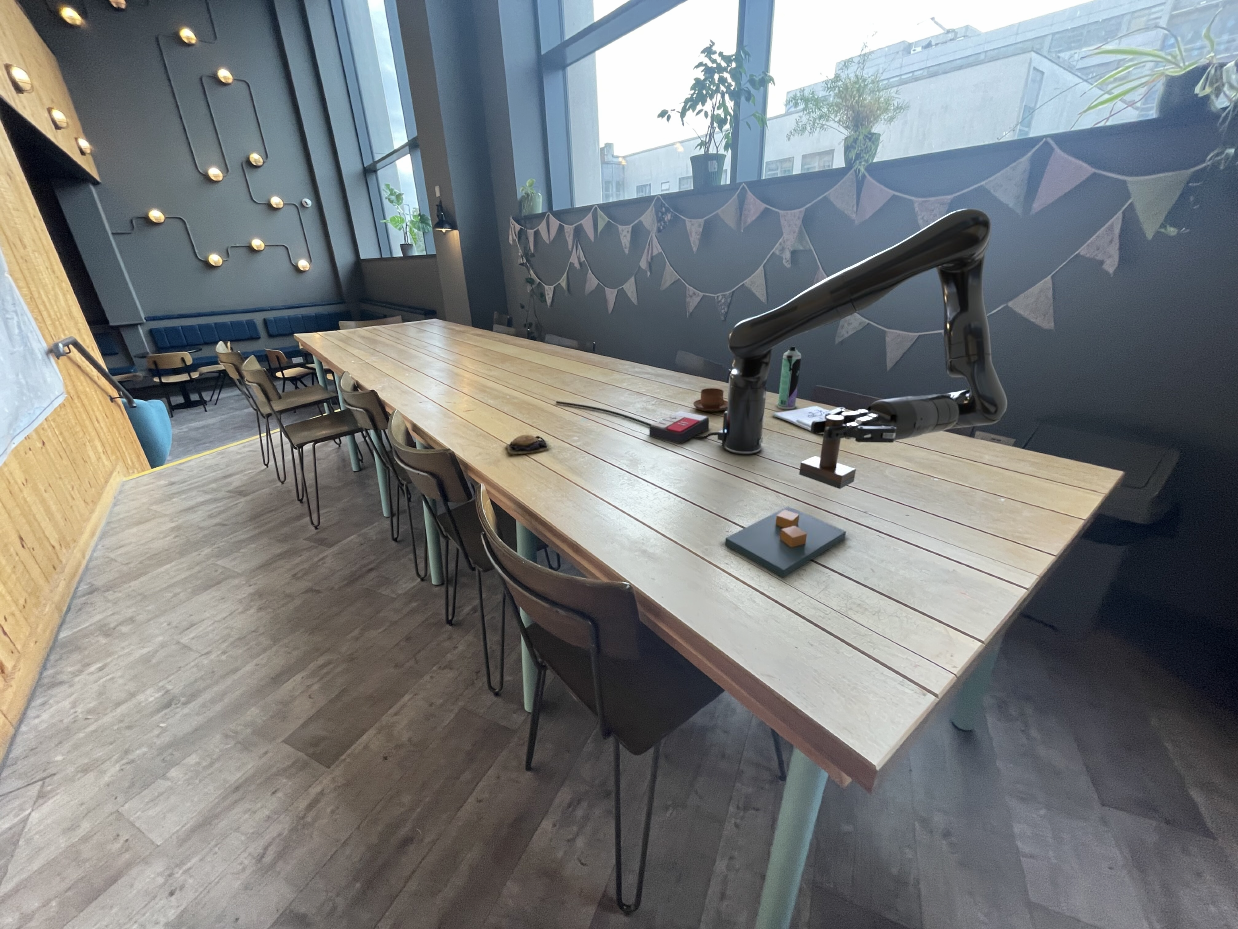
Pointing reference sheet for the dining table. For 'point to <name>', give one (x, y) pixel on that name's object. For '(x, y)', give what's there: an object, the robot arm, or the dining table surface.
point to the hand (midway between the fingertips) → (819, 430)
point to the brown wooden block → (787, 519)
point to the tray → (777, 555)
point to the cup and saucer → (711, 400)
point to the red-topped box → (679, 427)
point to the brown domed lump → (526, 445)
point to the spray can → (789, 379)
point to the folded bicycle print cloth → (803, 416)
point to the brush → (828, 461)
